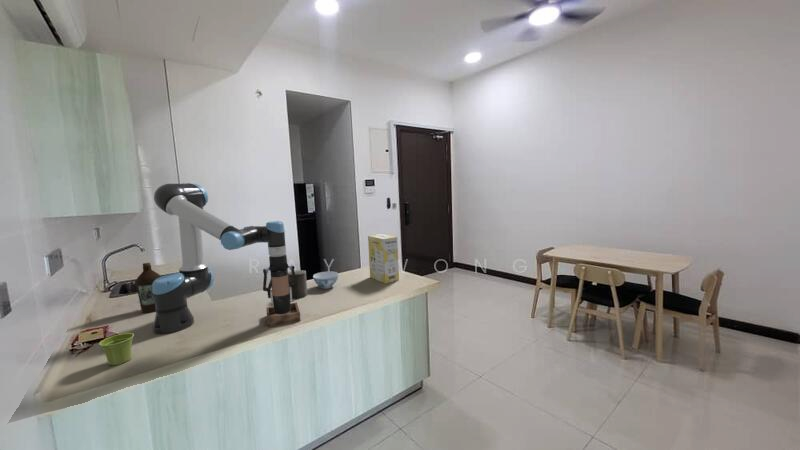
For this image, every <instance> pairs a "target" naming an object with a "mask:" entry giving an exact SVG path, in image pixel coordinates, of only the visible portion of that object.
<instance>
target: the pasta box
mask: <svg viewBox="0 0 800 450" xmlns="http://www.w3.org/2000/svg"><path fill="white" fill-rule="evenodd" d="M367 243H368V264H369V266H368V267H369V277H370V279H373V280H375V281H377V282H381V283H382V284H383V283H384V284H385V285H386V284H389V283H393V282H397V281H399V280H400V273H399V268H400V267H399V251H398V250H399V247H398V246H399V244H398V243H399V242H398V236H396V235H388V234H385V233H378V234H372V235H371V234H370V235H367Z"/></svg>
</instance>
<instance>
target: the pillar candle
mask: <svg viewBox="0 0 800 450" xmlns="http://www.w3.org/2000/svg"><path fill="white" fill-rule="evenodd" d="M294 272H295V276H296V280H297V284H298V285H297V286H295V287H294V294H292V299H295V300H296V299H301V298H305V297H307V296H308V287H307V286H308V284H307V271H306V270H303V269H302V270H299V269H297V270H295V269H294ZM288 277H289V278H290V280H291V282H292V284H294V280H293V276H292V272H291V271H288ZM289 287H291V286H290V285H289Z"/></svg>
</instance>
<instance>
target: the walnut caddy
mask: <svg viewBox="0 0 800 450" xmlns="http://www.w3.org/2000/svg"><path fill="white" fill-rule="evenodd" d="M290 306H291V310H290V311H289V312H288V313H285V314H275V312H274V305H272V306H269V307H266V324H267V328H271V327H275V326H276V327H277V326H281V325H286V324H292V323H296V322H301V312H300V307H299V305H298V302H293V303H292V302H290Z"/></svg>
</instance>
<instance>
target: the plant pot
mask: <svg viewBox="0 0 800 450" xmlns="http://www.w3.org/2000/svg"><path fill="white" fill-rule="evenodd" d="M134 336H135V334H134V333H132V332H126V333H119V334H115V335H112V336H109V337H106V338H104V339H103V340H100V342H99V343H98V345H99V346H100V347H101V349H103V352H104V354H105V357H106V360H107V362H108V365H109V366H118V365H122V364H124V363H125V362H127V361H130V360H131V359H132V349H133V347H132V346H133V344H132V343H133V341H134V340H133V338H134Z"/></svg>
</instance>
